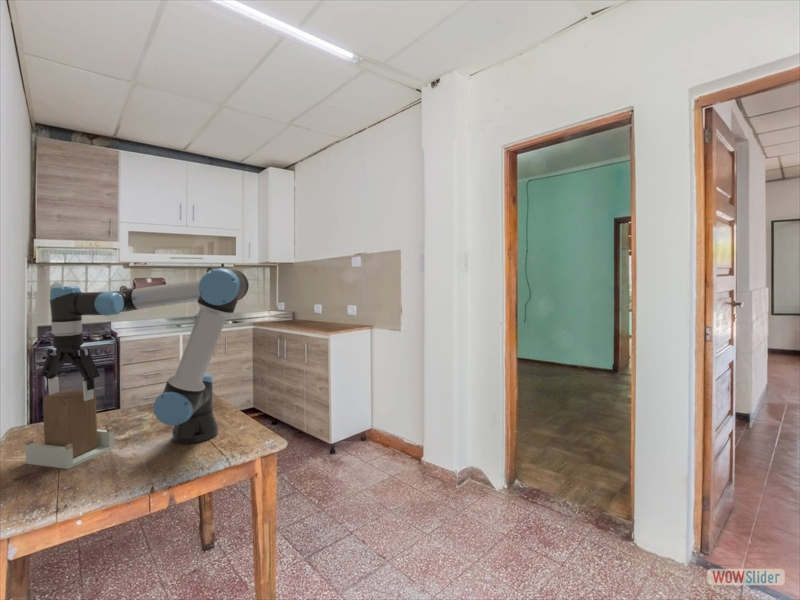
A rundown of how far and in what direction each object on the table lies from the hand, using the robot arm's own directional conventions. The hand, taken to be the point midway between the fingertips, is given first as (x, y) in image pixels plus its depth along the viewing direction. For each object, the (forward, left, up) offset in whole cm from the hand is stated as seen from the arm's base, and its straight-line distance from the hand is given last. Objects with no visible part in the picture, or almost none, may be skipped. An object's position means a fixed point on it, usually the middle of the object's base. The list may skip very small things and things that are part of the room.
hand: (71, 398), depth 129 cm
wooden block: (0, 0, -18) cm, 18 cm away
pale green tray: (0, 0, -19) cm, 19 cm away
